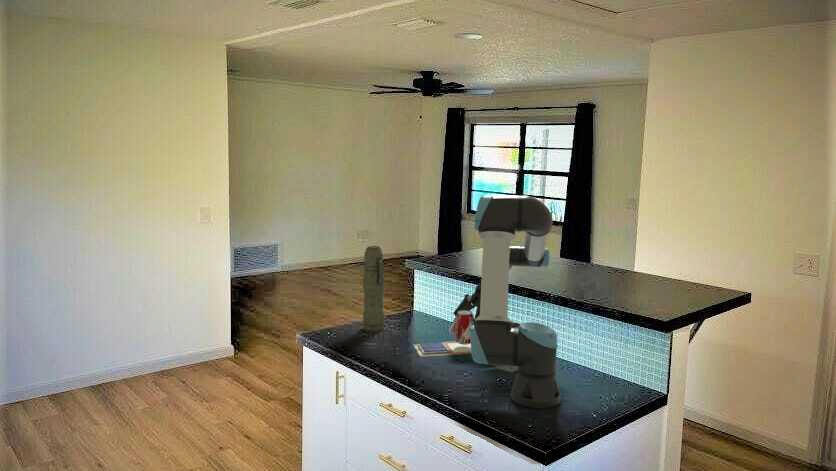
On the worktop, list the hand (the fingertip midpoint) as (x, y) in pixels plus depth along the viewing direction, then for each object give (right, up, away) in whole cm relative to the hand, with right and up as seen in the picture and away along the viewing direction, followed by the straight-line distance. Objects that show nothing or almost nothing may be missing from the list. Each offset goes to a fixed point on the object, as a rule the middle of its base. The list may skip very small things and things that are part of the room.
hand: (457, 335), depth 236 cm
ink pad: (-9, -5, +1) cm, 11 cm away
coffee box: (+16, -9, -15) cm, 24 cm away
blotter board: (-3, -6, +2) cm, 7 cm away
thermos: (-34, -2, +28) cm, 44 cm away
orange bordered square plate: (+3, -5, +3) cm, 7 cm away
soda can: (+3, -3, +3) cm, 5 cm away
